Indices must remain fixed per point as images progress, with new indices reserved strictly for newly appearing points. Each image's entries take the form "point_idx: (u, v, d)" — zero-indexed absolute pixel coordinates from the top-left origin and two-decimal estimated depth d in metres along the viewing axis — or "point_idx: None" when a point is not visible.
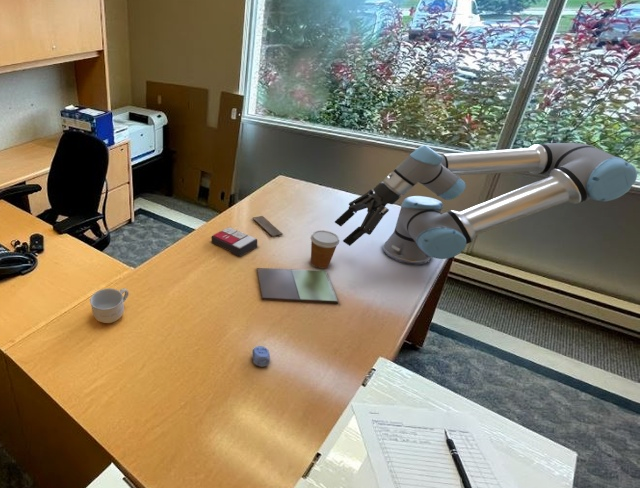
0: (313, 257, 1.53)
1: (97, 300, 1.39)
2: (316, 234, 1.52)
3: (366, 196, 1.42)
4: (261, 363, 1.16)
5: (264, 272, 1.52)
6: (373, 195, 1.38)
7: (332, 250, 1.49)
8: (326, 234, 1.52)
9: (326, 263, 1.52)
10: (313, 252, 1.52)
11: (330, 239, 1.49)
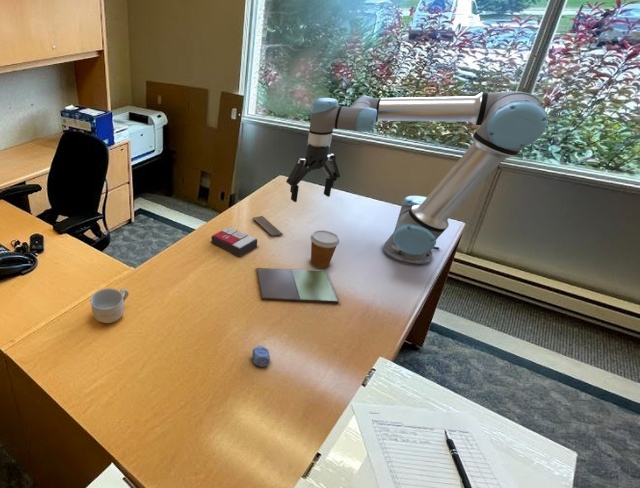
0: (313, 257, 1.53)
1: (97, 300, 1.39)
2: (316, 234, 1.52)
3: (329, 160, 1.51)
4: (261, 363, 1.16)
5: (264, 272, 1.52)
6: None
7: (332, 250, 1.49)
8: (326, 234, 1.52)
9: (326, 263, 1.52)
10: (313, 252, 1.52)
11: (330, 239, 1.49)
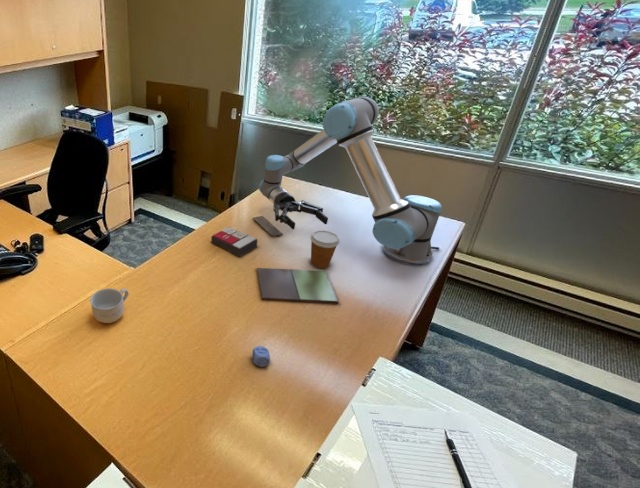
0: (313, 257, 1.53)
1: (97, 300, 1.39)
2: (316, 234, 1.52)
3: None
4: (261, 363, 1.16)
5: (264, 272, 1.52)
6: None
7: (332, 250, 1.49)
8: (326, 234, 1.52)
9: (326, 263, 1.52)
10: (313, 252, 1.52)
11: (330, 239, 1.49)
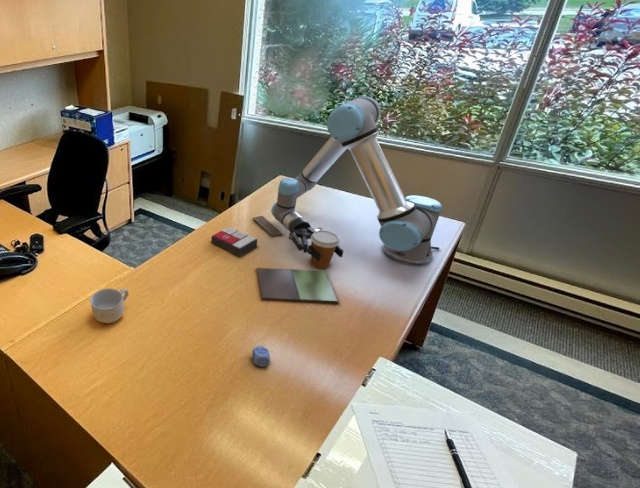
0: (313, 257, 1.53)
1: (97, 300, 1.39)
2: (316, 234, 1.52)
3: None
4: (261, 363, 1.16)
5: (264, 272, 1.52)
6: None
7: (332, 250, 1.49)
8: (326, 234, 1.52)
9: (326, 263, 1.52)
10: None
11: (330, 239, 1.49)
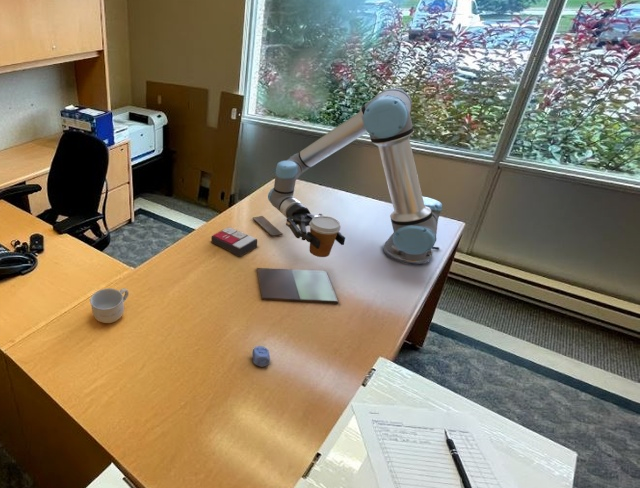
0: (312, 245, 1.40)
1: (97, 300, 1.39)
2: (315, 220, 1.39)
3: None
4: (261, 363, 1.16)
5: (264, 272, 1.52)
6: None
7: (333, 237, 1.36)
8: (327, 219, 1.39)
9: (327, 251, 1.39)
10: None
11: (331, 225, 1.36)
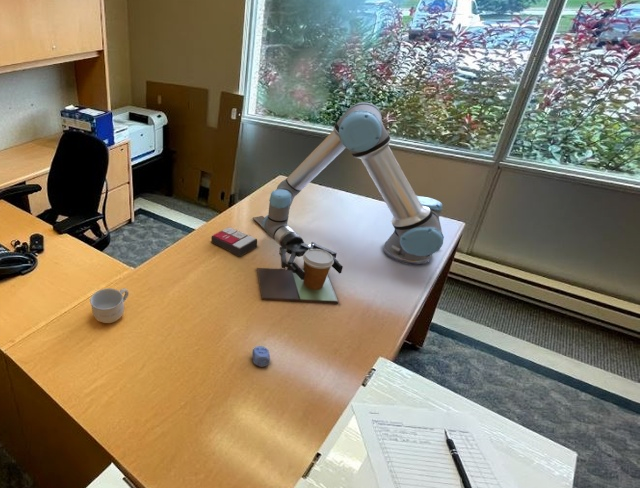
0: (306, 278, 1.41)
1: (97, 300, 1.39)
2: (309, 253, 1.40)
3: None
4: (261, 363, 1.16)
5: (264, 272, 1.52)
6: None
7: (326, 271, 1.37)
8: (320, 253, 1.40)
9: (320, 284, 1.40)
10: (305, 272, 1.41)
11: (324, 259, 1.37)
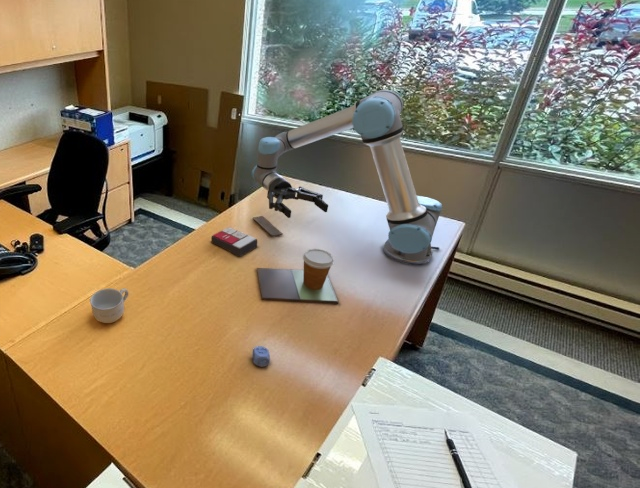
0: (306, 278, 1.41)
1: (97, 300, 1.39)
2: (309, 253, 1.40)
3: None
4: (261, 363, 1.16)
5: (264, 272, 1.52)
6: None
7: (326, 271, 1.37)
8: (320, 253, 1.40)
9: (320, 284, 1.40)
10: (306, 272, 1.41)
11: (324, 259, 1.37)
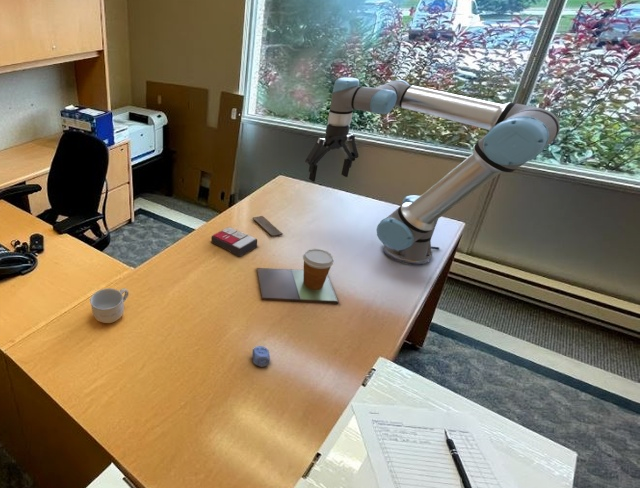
0: (306, 278, 1.41)
1: (97, 300, 1.39)
2: (309, 253, 1.40)
3: (348, 141, 1.53)
4: (261, 363, 1.16)
5: (264, 272, 1.52)
6: None
7: (326, 271, 1.37)
8: (320, 253, 1.40)
9: (320, 284, 1.40)
10: (306, 272, 1.41)
11: (324, 259, 1.37)
